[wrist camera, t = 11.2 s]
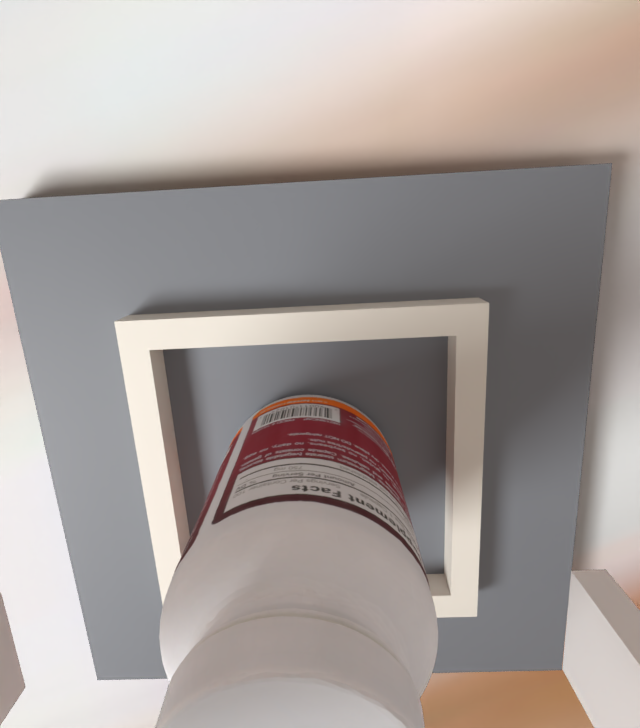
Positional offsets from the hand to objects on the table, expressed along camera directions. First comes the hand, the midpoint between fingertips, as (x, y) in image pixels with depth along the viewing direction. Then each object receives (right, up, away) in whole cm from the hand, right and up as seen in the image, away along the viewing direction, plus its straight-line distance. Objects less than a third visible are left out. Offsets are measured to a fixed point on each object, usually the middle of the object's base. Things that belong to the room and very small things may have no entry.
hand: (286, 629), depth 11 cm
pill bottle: (0, +2, +7) cm, 8 cm away
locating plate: (0, +3, +9) cm, 9 cm away
